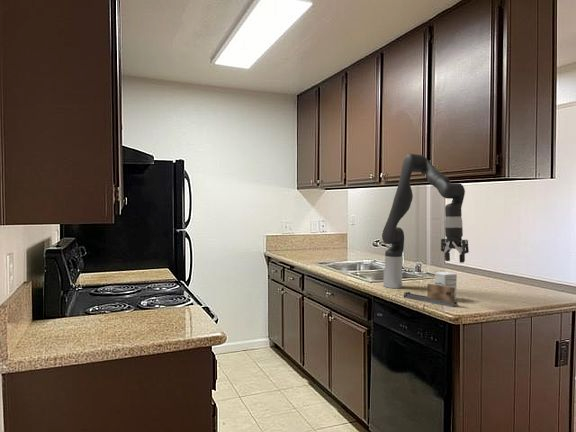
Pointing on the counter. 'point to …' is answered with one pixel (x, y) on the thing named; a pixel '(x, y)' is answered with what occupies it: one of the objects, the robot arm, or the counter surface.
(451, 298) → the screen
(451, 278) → the supplement box
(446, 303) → the rail
